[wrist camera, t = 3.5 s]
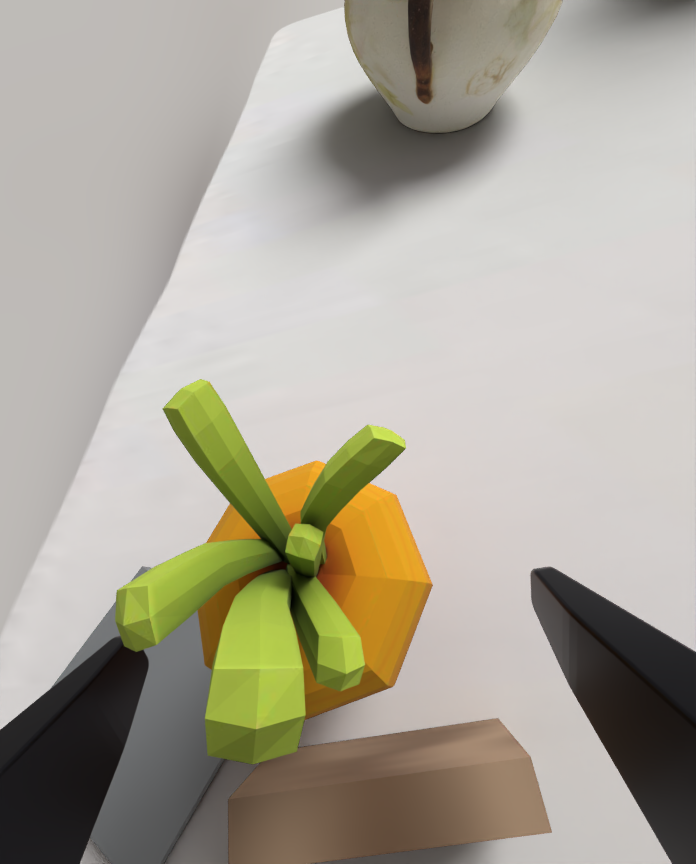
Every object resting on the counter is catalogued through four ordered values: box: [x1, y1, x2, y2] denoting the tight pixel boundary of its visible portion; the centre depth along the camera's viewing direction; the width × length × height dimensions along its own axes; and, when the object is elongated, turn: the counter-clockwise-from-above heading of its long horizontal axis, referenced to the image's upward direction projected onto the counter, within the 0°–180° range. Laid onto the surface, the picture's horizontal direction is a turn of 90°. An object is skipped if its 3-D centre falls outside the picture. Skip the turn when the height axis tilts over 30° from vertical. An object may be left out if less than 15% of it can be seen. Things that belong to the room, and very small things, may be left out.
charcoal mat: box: [52, 566, 224, 864], centre depth 16 cm, size 8×8×1 cm
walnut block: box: [228, 718, 552, 864], centre depth 12 cm, size 9×2×4 cm, turn 98°
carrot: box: [115, 379, 433, 764], centre depth 10 cm, size 5×5×15 cm
